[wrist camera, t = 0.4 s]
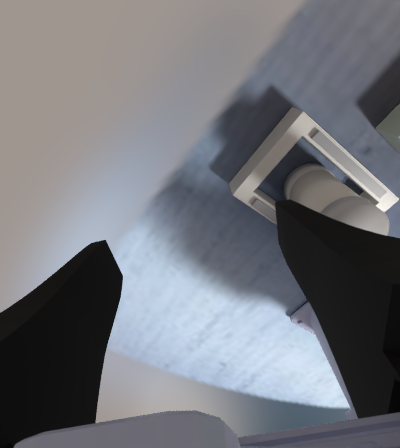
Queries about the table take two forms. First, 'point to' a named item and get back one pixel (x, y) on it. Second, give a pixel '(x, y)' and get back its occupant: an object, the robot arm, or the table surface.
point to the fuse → (333, 198)
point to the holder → (280, 145)
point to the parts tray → (391, 128)
